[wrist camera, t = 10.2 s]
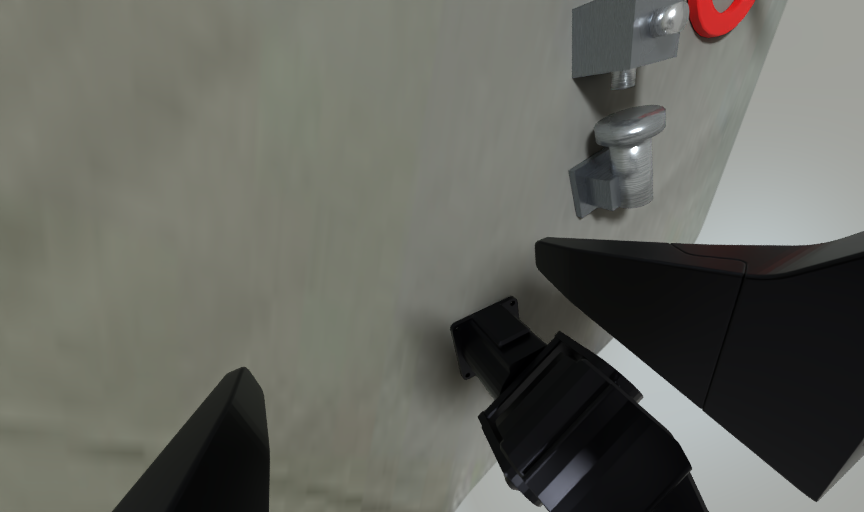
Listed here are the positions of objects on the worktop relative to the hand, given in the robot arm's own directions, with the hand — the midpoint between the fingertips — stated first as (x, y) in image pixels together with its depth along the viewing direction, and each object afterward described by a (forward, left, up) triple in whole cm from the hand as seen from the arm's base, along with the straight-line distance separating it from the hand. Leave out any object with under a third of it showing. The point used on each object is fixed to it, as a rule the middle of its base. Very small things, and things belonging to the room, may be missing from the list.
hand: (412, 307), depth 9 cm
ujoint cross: (+6, -20, -12) cm, 24 cm away
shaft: (-2, -21, -12) cm, 24 cm away
